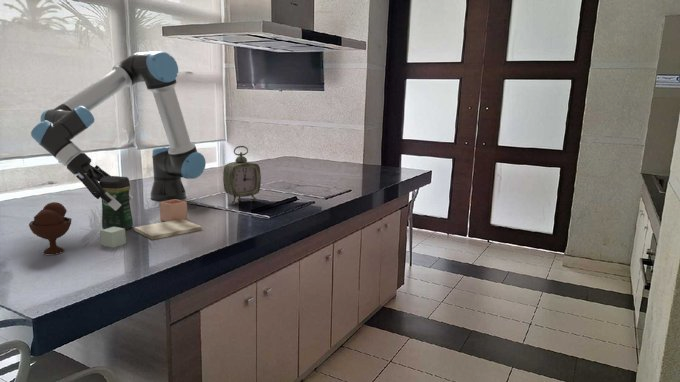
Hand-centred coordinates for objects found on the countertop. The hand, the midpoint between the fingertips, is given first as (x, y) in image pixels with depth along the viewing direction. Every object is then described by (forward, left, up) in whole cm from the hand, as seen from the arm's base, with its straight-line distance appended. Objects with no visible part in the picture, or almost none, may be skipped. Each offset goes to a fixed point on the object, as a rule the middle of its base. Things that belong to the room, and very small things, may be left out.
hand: (124, 204), depth 171 cm
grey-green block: (+10, +16, -9) cm, 21 cm away
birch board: (-10, +12, -9) cm, 18 cm away
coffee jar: (+2, -2, -9) cm, 9 cm away
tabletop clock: (-54, -9, -9) cm, 55 cm away
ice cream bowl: (+26, +12, -9) cm, 30 cm away
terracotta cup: (-18, 0, -9) cm, 20 cm away
